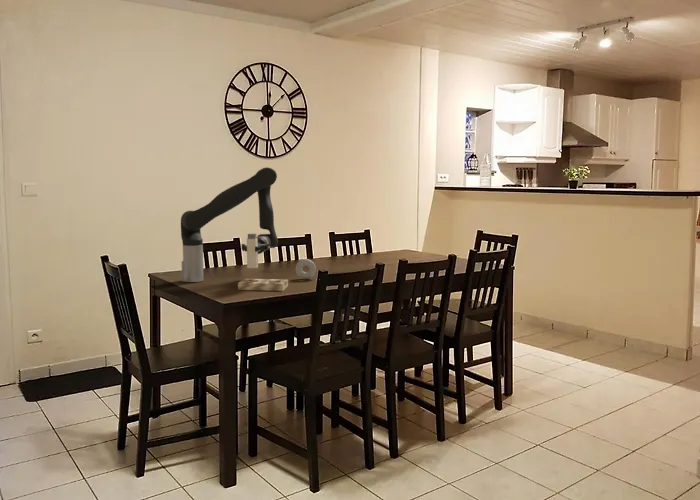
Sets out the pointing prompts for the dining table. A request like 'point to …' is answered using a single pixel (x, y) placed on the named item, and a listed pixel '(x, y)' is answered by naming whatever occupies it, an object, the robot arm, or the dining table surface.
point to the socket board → (263, 284)
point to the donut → (301, 273)
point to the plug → (252, 251)
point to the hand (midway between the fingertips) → (250, 249)
